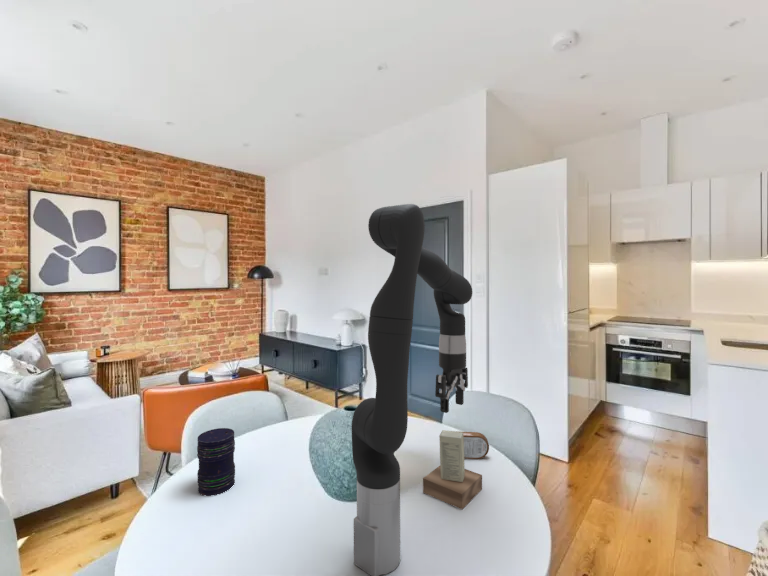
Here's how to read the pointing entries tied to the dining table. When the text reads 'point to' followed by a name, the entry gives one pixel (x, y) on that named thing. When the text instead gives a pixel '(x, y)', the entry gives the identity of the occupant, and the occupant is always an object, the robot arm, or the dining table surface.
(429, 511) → the dining table surface
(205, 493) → the dark blue cylinder
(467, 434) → the tin
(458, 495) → the walnut plinth
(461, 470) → the skincare box
